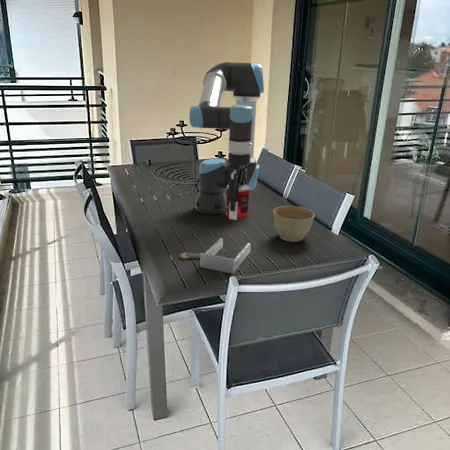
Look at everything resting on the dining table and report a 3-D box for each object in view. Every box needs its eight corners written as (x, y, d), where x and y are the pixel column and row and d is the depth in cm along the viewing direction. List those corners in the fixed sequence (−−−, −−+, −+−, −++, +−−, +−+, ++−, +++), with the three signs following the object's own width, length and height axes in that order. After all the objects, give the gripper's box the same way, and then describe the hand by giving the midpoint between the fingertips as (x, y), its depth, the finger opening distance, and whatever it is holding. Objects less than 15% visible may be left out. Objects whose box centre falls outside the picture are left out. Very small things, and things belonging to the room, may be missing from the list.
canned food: (224, 212, 165) (225, 183, 161) (246, 211, 166) (247, 183, 162) (226, 219, 158) (227, 189, 154) (249, 219, 159) (251, 189, 155)
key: (180, 259, 160) (180, 256, 160) (180, 255, 163) (180, 252, 163) (202, 259, 161) (202, 256, 161) (202, 255, 164) (202, 252, 163)
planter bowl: (302, 249, 172) (305, 222, 168) (264, 239, 180) (266, 213, 176) (317, 236, 185) (320, 211, 180) (281, 227, 192) (283, 203, 188)
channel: (200, 266, 155) (200, 253, 154) (220, 246, 172) (220, 234, 170) (232, 273, 152) (233, 260, 150) (250, 251, 168) (251, 239, 166)
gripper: (240, 160, 143) (237, 226, 152) (258, 147, 161) (254, 207, 170) (218, 157, 146) (216, 223, 154) (238, 145, 163) (235, 204, 172)
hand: (236, 214), depth 162 cm, fingers closed on canned food, 8 cm apart
